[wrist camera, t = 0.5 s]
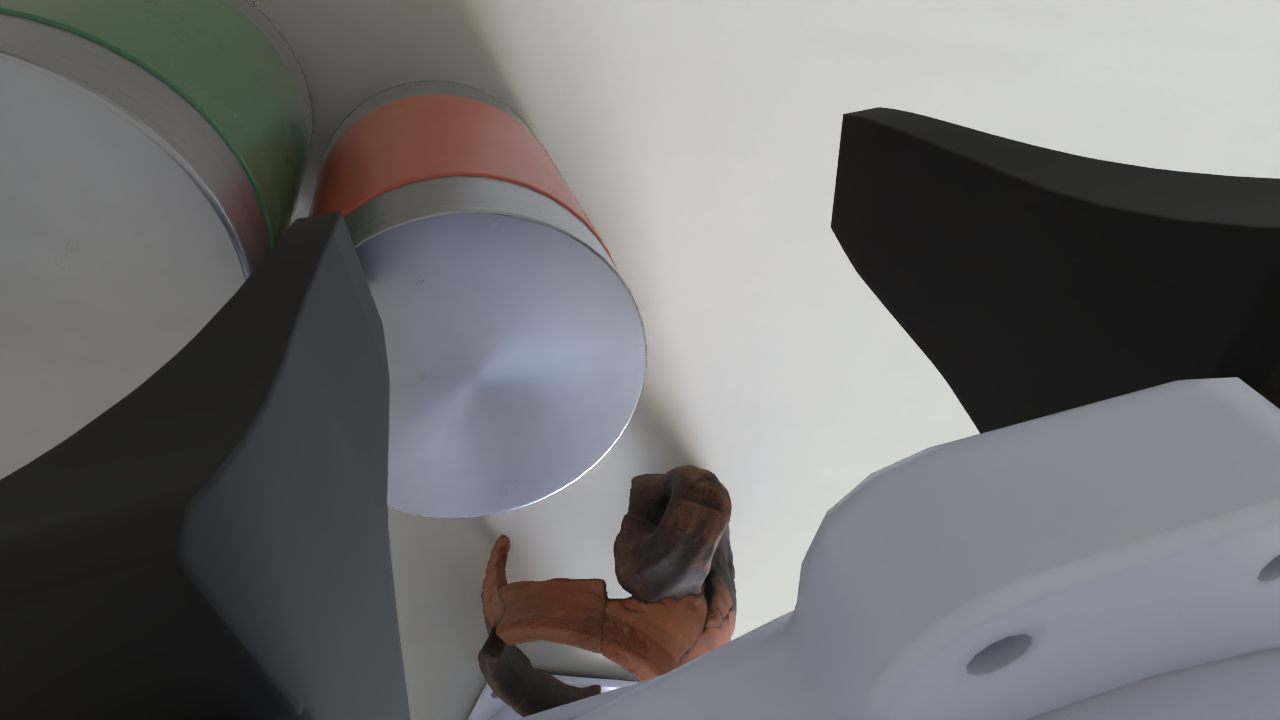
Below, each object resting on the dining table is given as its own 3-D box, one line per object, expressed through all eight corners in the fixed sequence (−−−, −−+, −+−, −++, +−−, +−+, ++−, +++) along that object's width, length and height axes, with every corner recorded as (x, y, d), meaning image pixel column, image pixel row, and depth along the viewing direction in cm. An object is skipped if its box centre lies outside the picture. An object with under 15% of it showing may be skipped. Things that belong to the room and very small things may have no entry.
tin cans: (506, 324, 25) (578, 577, 16) (-8, 175, 19) (-369, 443, 10) (588, 134, 22) (729, 302, 13) (31, -104, 16) (-399, -94, 7)
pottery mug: (702, 610, 35) (662, 796, 29) (511, 529, 35) (428, 697, 29) (823, 442, 27) (804, 646, 21) (579, 338, 27) (486, 511, 21)
